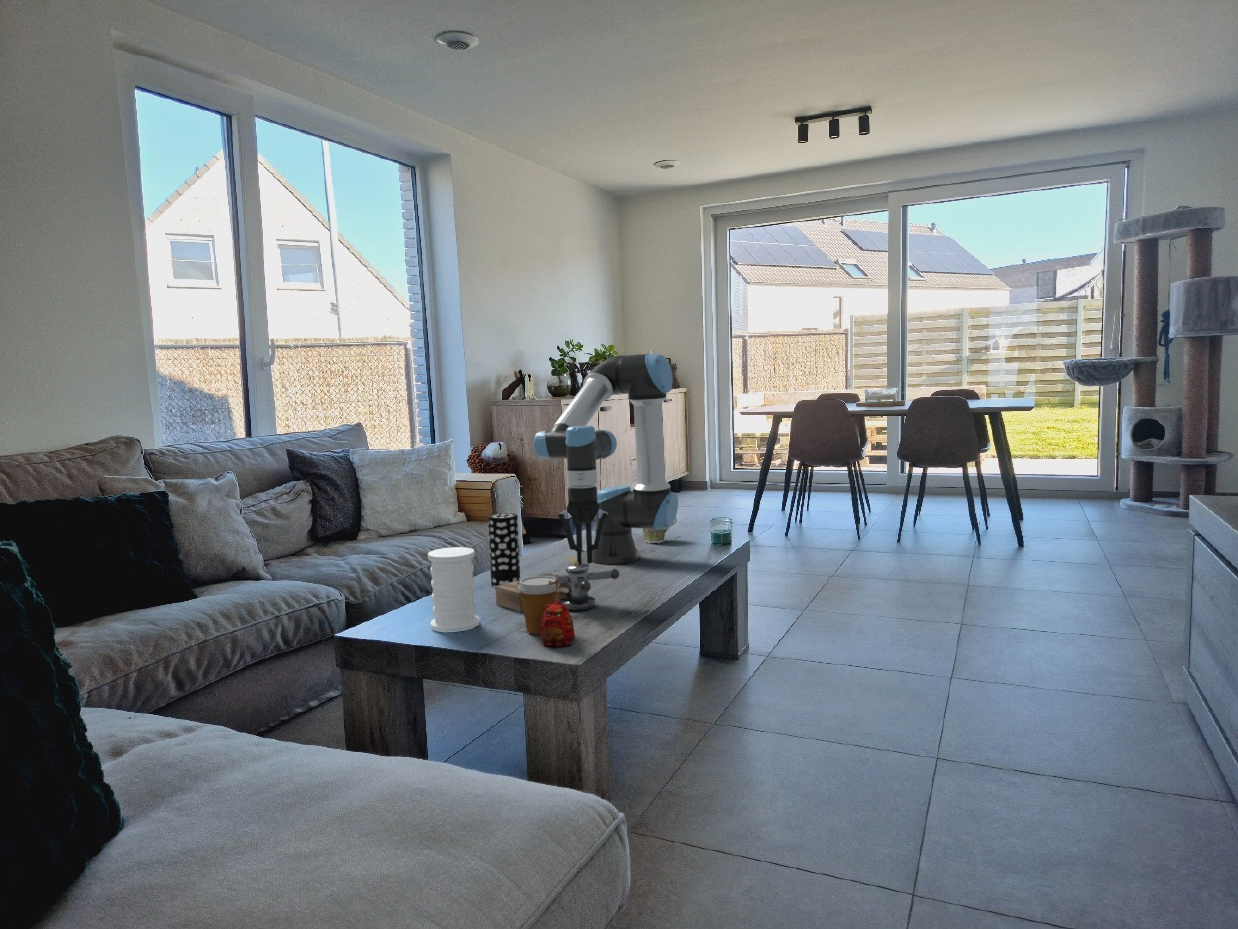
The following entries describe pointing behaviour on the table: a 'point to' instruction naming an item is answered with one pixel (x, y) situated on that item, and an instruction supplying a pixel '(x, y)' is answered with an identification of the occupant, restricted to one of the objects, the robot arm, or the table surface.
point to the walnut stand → (511, 595)
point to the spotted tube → (504, 548)
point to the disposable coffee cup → (536, 599)
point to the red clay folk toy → (556, 623)
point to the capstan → (581, 584)
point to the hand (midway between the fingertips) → (585, 575)
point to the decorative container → (453, 589)
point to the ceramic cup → (655, 534)
